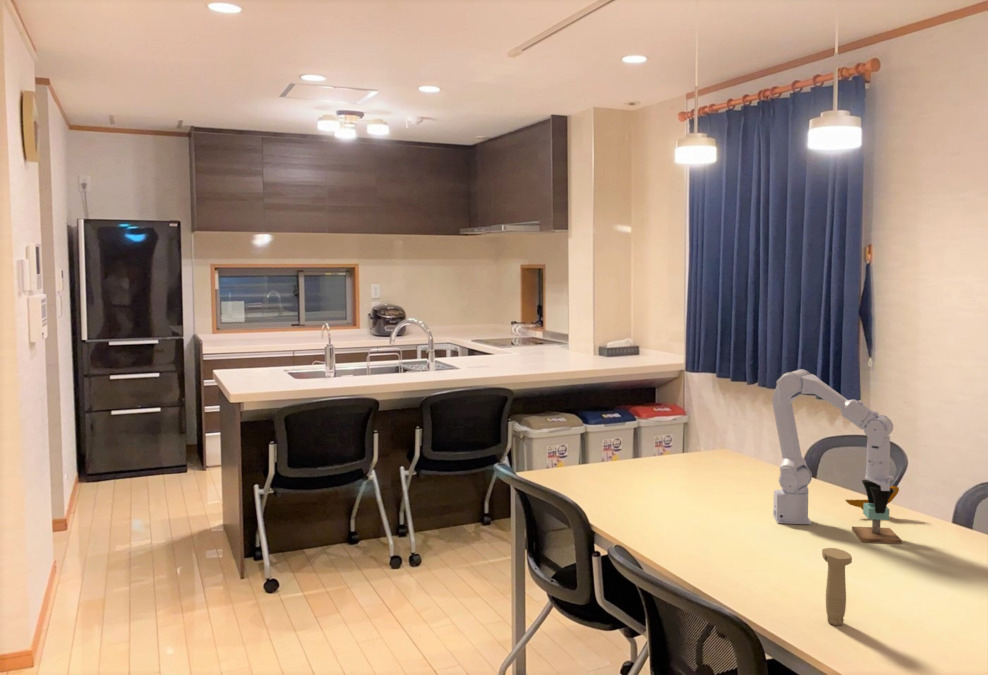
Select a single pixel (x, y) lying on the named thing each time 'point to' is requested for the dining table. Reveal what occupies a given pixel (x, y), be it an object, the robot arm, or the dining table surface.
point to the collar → (871, 514)
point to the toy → (860, 502)
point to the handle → (836, 584)
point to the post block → (876, 533)
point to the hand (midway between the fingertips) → (876, 509)
